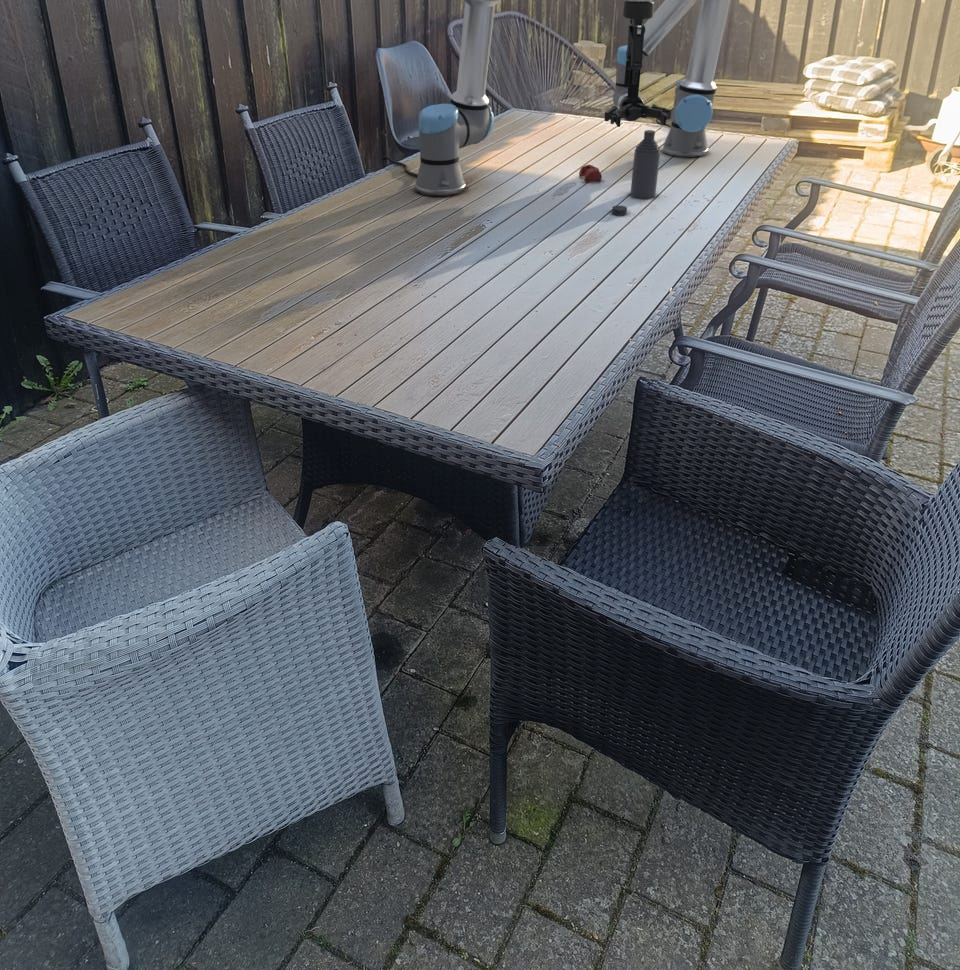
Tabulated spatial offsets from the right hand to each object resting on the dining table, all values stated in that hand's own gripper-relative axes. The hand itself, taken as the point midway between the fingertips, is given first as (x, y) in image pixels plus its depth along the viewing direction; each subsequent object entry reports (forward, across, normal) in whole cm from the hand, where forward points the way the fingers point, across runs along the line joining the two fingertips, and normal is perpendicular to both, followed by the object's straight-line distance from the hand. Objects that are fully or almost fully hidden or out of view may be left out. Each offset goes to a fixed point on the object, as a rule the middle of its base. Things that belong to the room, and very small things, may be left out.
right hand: (642, 121), depth 251 cm
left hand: (+26, +8, +13) cm, 31 cm away
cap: (+26, +9, -18) cm, 33 cm away
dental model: (-8, +14, -18) cm, 24 cm away
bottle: (+9, 0, -19) cm, 21 cm away
